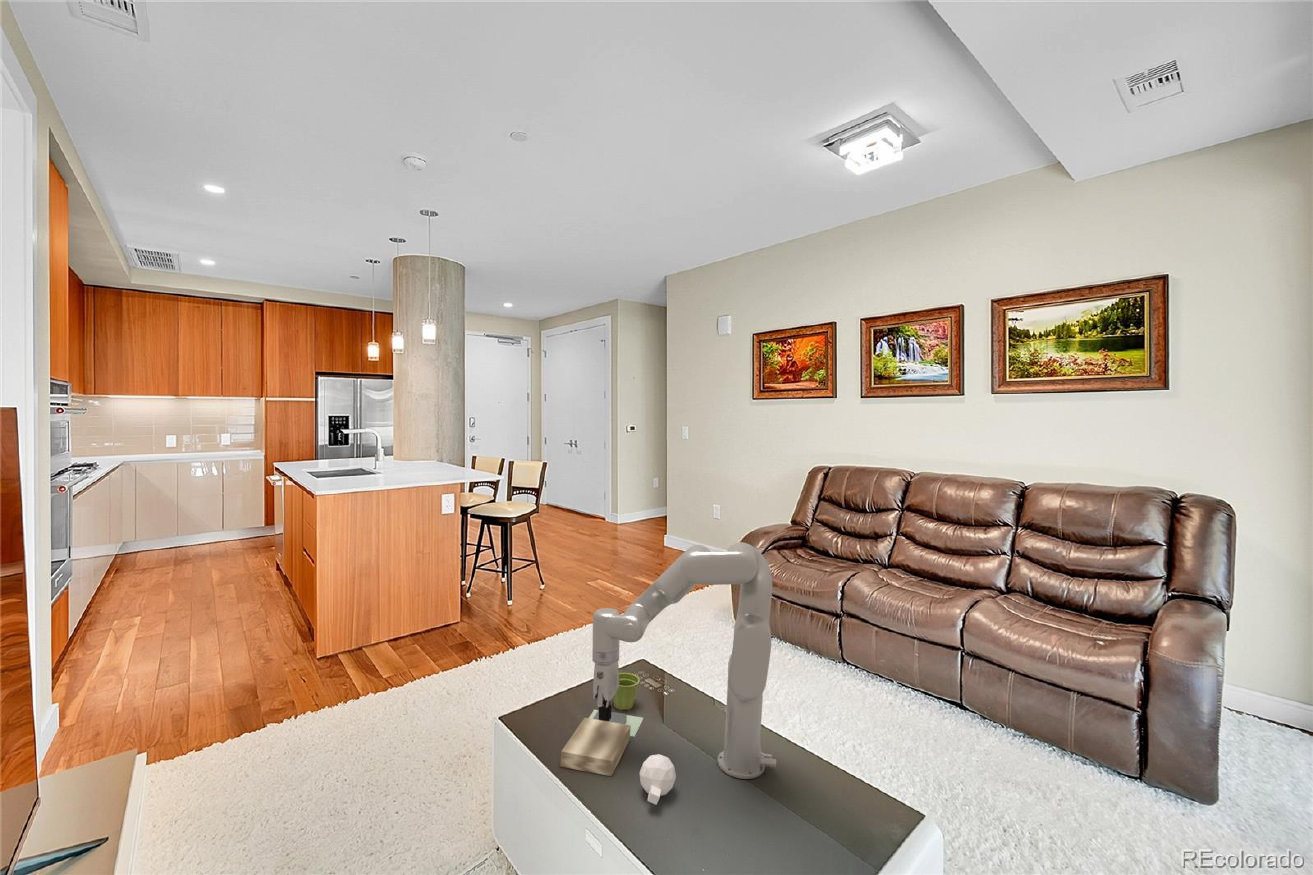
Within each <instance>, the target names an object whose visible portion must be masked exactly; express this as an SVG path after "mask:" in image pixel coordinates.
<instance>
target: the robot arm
mask: <svg viewBox="0 0 1313 875" xmlns="http://www.w3.org/2000/svg"><path fill="white" fill-rule="evenodd" d="M696 585H703V586H705V585H707V586H712V585H713V586H714V585H715V586H716V585H717V586H718V585H719V586H722V585H726V586H727V585H728V586H729V585H731V586H733V585H740V587H739V588H740V589H739V590H740V591H739V597H738V599H739V601H738V606H737V607H738V608H737V612H736V613H737V614H736V618H735V622H734V625H733V640H732V641H733V642H732V650H731V655H730V656H729V659H728V664H727V665H728V666H727V690H726V706H725V707H726V709H725V725H724V742H723V750H722V751H721V752H719V754H718V755H717V765H718V767H719V769H720V770H721V771H722V772H724V773H725V774H726V775H728V776H730V777H733V778H736V779H740V780H741V779H744V780H749V779H755V778H758V777H760V776H761V775H763V773H764V772H765V768H766V767H765V766H768V767H771V768H777V759H776V758H773V755H772V754H770V753H764V752H763V751H762V746H761V736H762V735H761V733H762V732H761V731H762V717H763V716H762V712H763V697H764V694H763V693H764V691H765V689H766V686H767V681H768V674H769V668H770V667H769V666H770V660H771V652H772V634H771V633H772V632H771V627H770V617H771V616H770V615H771V608H772V596H773V578H772V572H771V568H770V566H769V564H768V561H767V560H766V558H765V557H764V555H763V554H762V553H761V552H760V551H759V550H758V549H757V548H756V547H754V546H753V545H751V544H749V543H746V542H742V541H741V542H739V541H738V542H735V543H734V544H732V545H731V546H729V547H728V549H727V550H726V551H711V550H710V549H709V548H708V547H706V546H704V545H701V544H694V545H692V546H690V547H689V548H687V549H686V550H685V551H684V552H683V553H682V554H681V555H680V556H679V557H678V558H676V560H675V561H674V562H673V563H672V564H671V565H670V566H668V568H666V570H665V571H664V572H663V573H661V575H659V576H658V577H657V578H656V579H655V581H653V583H652V584H650V585H649V587H647V589H645V590H644V592H642V593H641V594H640V595H639V596H638V597H637V598H636V599H635V600H634V601H633V602H632V603H631V604H630V605H629V606H628V607H627V608H626V609H625V611H624V613H622V614H620V613H619V611H618V610H617V609H616V608H611V607H604V608H603V607H602V608H599V609H597V610H595V611H594V612H593V615H592V656H591V657H592V658H591V659H592V662H593V663H594V666H593V667H594V668H593V669H594V670H593V682H592V693H593V694H592V695H593V699H594V700H597V704H596V705H597V707H598V710H599V720H602V721H610V719H611V712H612V702H613V701H612V700H613V699H614V697H613V696H614V695H615V693H616V692H617V690H618V688H619V673H620V672H619V670H620V667H619V665H620V664H619V661H620V641H622V642H626V643H636V642H638V641H640V640H641V639H642V638H643V637H644V634H645V632H646V630H647V628H648V626H649V624H650V623H652V621H653V620H654V619H655V618H656V617H657V616H658V615H659V614H660V613H661V612H662V611H663V610H665V609H666V608H668V607H669V606H670V605H674V604H675V605H676V604H678V603H679V602H680V601H681V600H682V599H683V598H684V597H685V596H687V595H688V593H689V592H690V591H691V590H692V589H694V587H695V586H696Z"/></svg>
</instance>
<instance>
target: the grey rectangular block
mask: <svg viewBox="0 0 1313 875" xmlns="http://www.w3.org/2000/svg"><path fill="white" fill-rule="evenodd" d="M597 710H598V712H597V713H596V715H595V716H594V718H593V719H596V720H599V709H597ZM627 715H628V714H626V713H621V712H615V711H611V719H610V721H608V722H613V723H619V724H625V723H626V720H627Z"/></svg>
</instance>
